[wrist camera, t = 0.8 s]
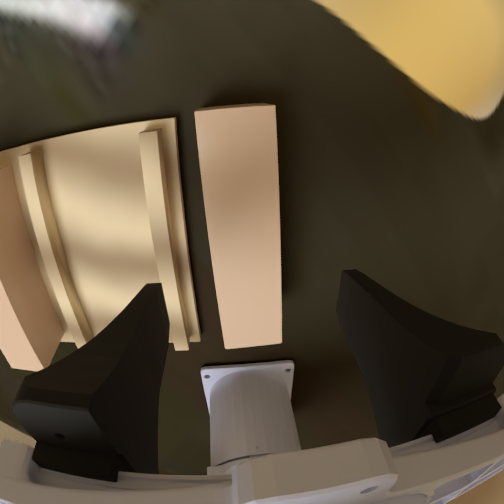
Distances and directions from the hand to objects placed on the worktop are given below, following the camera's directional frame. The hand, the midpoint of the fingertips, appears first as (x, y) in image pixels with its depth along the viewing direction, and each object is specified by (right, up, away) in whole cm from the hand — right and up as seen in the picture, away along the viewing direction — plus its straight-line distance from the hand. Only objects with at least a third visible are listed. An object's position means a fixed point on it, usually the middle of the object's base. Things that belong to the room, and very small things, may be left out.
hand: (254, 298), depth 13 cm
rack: (-13, +2, +7) cm, 15 cm away
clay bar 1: (-17, +1, +6) cm, 19 cm away
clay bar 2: (-1, +4, +8) cm, 9 cm away
